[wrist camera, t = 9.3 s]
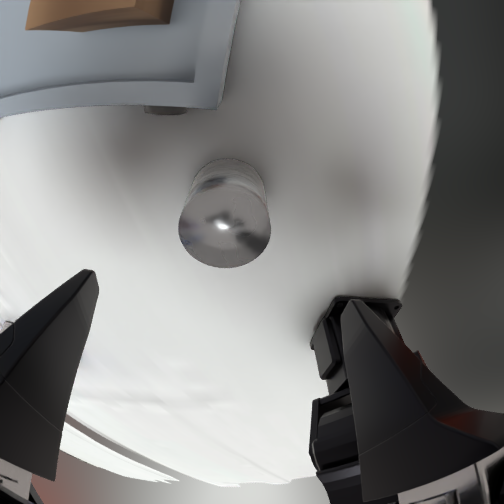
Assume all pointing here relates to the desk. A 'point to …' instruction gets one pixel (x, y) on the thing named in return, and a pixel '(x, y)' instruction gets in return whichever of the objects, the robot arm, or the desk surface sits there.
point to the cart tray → (118, 61)
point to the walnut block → (96, 14)
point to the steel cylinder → (225, 215)
